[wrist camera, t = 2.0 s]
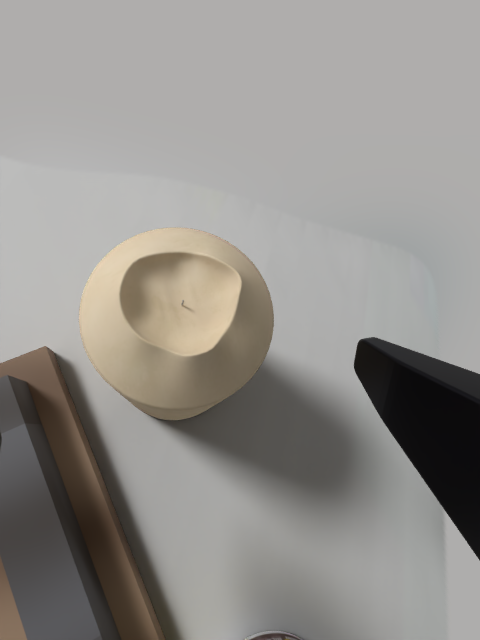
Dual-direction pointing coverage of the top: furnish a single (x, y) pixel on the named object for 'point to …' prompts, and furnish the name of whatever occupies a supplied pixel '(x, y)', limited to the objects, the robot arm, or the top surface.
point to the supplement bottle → (273, 636)
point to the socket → (59, 521)
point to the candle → (176, 321)
